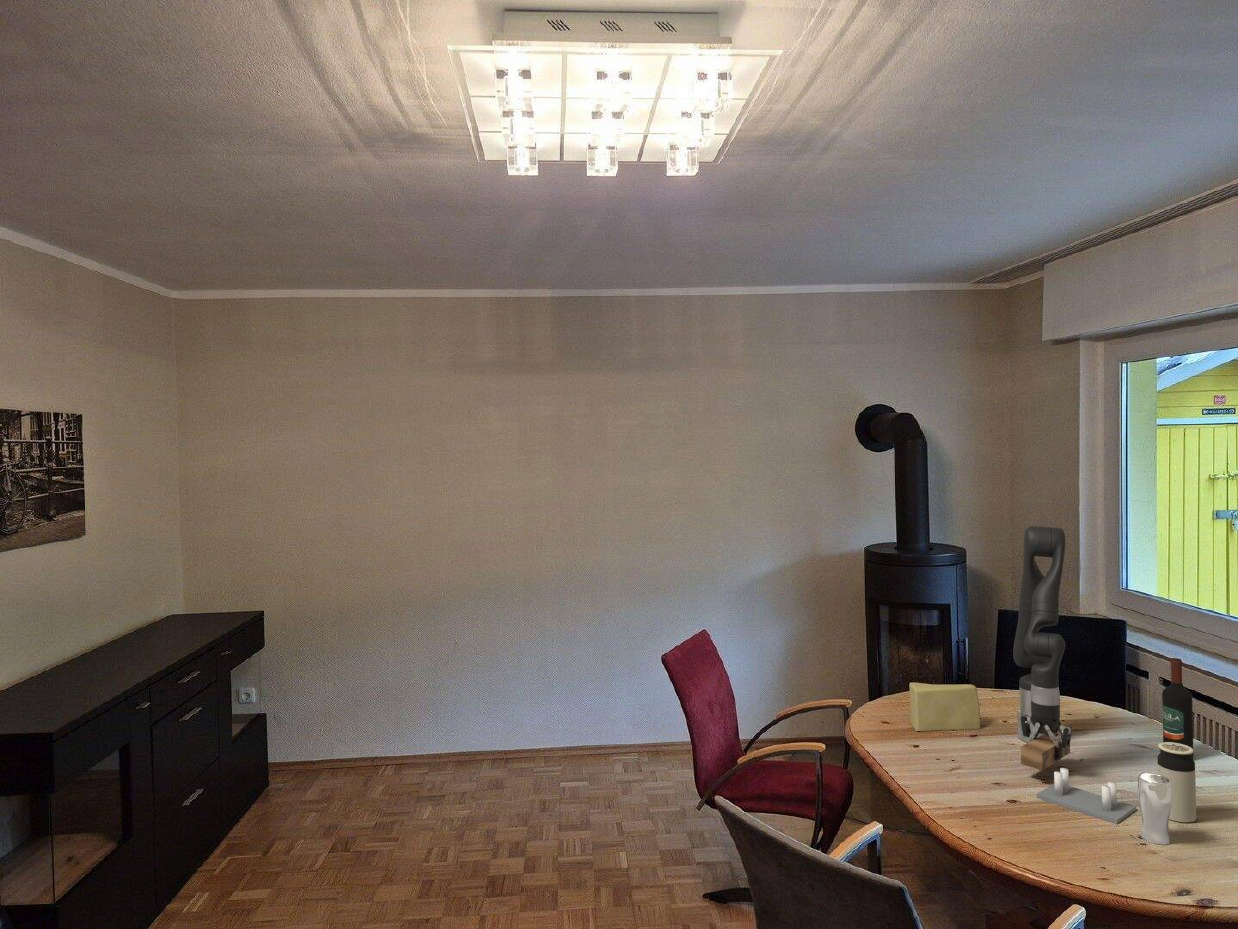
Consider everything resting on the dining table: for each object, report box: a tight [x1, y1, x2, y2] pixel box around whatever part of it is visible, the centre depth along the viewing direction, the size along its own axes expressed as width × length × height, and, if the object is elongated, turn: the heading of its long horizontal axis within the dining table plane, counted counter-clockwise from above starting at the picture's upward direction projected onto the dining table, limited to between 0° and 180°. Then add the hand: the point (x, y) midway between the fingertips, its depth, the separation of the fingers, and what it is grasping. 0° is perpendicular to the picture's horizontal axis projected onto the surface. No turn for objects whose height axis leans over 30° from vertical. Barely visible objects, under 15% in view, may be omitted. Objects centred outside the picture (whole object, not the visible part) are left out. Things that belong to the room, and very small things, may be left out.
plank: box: [1020, 733, 1071, 771], centre depth 230 cm, size 18×6×5 cm, turn 127°
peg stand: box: [1036, 767, 1137, 825], centre depth 211 cm, size 20×12×7 cm, turn 36°
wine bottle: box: [1161, 657, 1195, 758], centre depth 239 cm, size 8×8×30 cm
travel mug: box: [1156, 741, 1197, 823], centre depth 202 cm, size 8×8×18 cm
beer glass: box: [1137, 772, 1172, 846], centre depth 191 cm, size 7×7×15 cm
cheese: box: [908, 682, 981, 732], centre depth 270 cm, size 22×10×15 cm, turn 82°
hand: (1046, 755), depth 231 cm, fingers closed on plank, 6 cm apart
